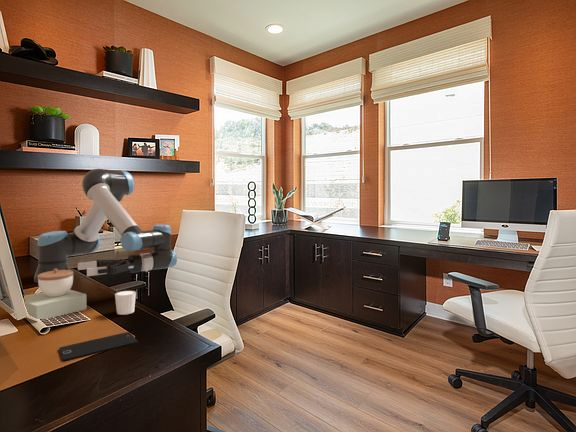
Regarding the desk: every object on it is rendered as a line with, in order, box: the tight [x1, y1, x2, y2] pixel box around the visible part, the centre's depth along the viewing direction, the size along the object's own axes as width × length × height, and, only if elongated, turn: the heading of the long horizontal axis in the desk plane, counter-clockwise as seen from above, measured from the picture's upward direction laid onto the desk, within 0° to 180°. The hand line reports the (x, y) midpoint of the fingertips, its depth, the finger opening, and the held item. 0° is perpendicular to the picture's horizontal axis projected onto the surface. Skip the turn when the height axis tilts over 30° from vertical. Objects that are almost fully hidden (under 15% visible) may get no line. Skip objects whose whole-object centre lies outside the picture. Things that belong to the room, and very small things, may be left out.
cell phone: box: [58, 331, 139, 363], centre depth 94 cm, size 9×18×1 cm, turn 130°
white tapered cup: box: [114, 290, 137, 316], centre depth 121 cm, size 7×7×7 cm
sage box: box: [23, 289, 87, 319], centre depth 121 cm, size 16×16×6 cm
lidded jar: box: [37, 269, 74, 297], centre depth 122 cm, size 11×11×9 cm
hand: (82, 269), depth 127 cm, fingers open, 13 cm apart
